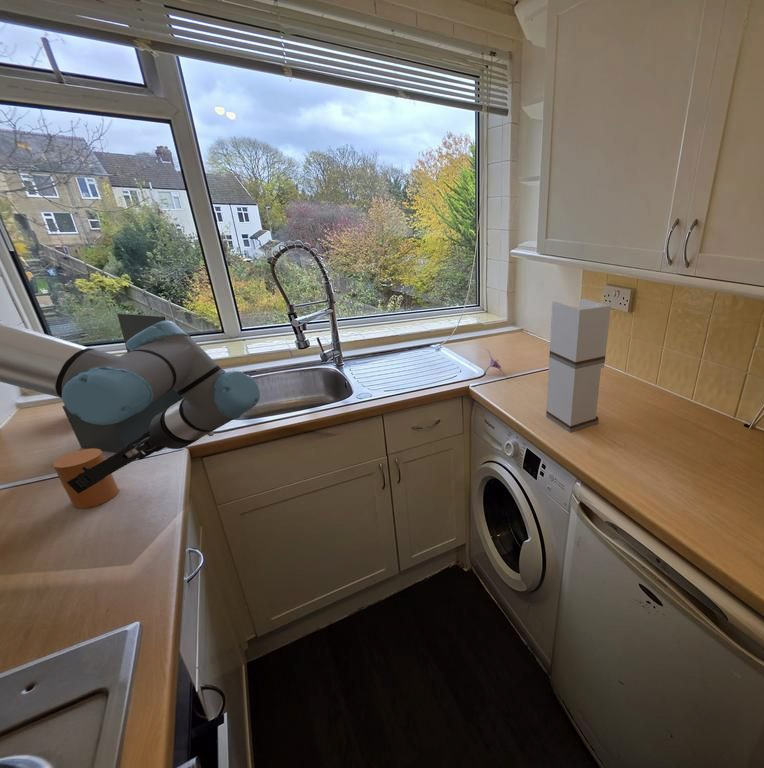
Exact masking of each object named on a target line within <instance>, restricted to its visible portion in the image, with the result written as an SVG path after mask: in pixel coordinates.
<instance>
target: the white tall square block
mask: <svg viewBox="0 0 764 768" xmlns="http://www.w3.org/2000/svg"><path fill="white" fill-rule="evenodd" d="M611 309H612V305H608V304H605V303H601V302H597V301H593V300H589V299H585V298H579V306H572V305H568V304H564V303H562V302H559V301H558V302H557V301H552V303H551V321H550V337H549V338H550V340H549V341H550V342H549V355H548V357H549V358H548V372H547V373H548V374H547V393H546V394H547V395H546V409H545V410H546V412H545V417H546V418H547V419H548V420H551V421H552V422H554V423H555V424H557V425H558V426H559V427H561V428H563V430H565V431H567V432H568V433H573V432H577V431H580V430H582V429H586V428H589V427H593V426H595V425H597V424H599V416H597V409H598V400H599V393H600V391H599V389H600V381H601V374H602V373H601V372H602V369H603V368H605V364H606V363H605V362H606V356H607V355H606V353H607V345H608V335H609V327H610V319H611Z"/></svg>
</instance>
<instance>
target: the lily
mask: <svg viewBox="0 0 764 768" xmlns="http://www.w3.org/2000/svg"><path fill="white" fill-rule="evenodd" d="M485 350H486V351H487V352H488V355H489V365H488V367H487V368H486V370H485V372H484V373H483V375H484V376H485V375H486V373H487V371H488V370H489V368H490V367H492V368H496V369H497V370H499V371H500V372H501V373H502V374H503V375H505V373H504V372H503V370H502V369H503V368H502V366H501V364H500V363H499V359H496V360H494V359H493V357H492V354H491V353H490V351H489V349H487V348H485Z"/></svg>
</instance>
